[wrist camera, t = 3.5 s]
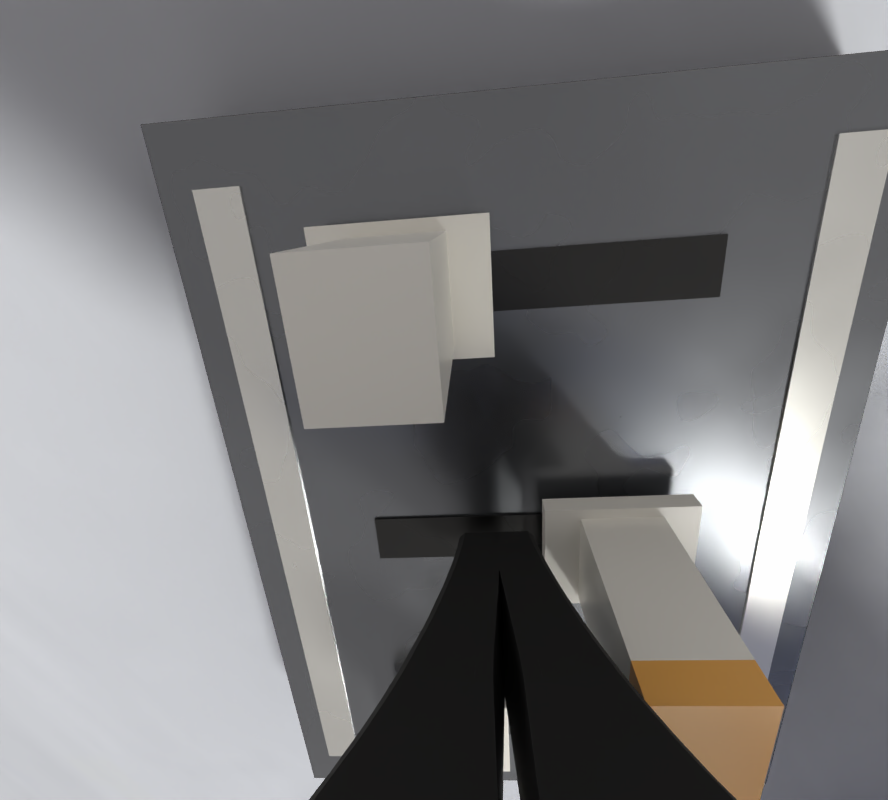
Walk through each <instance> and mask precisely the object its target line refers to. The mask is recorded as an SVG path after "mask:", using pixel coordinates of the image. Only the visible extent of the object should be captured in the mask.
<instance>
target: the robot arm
mask: <svg viewBox="0 0 888 800" xmlns="http://www.w3.org/2000/svg"><path fill="white" fill-rule="evenodd" d="M505 701H506V707H507V714H508V721H509V727H510V734H511V741H512V747H513V754H514V761H515V767H516V774H517V781H518V787H519V794H520V800H737V799H736V798H735V797H734V796H733V795H732V794H731V793H730V792H729V791H728V790H727V789H726V788H725V787H724V786H723V785H722V784H721V783H720V782H719V781H718V780H717V779H716V778H715V777H714V776H713V775H712V774H711V773H710V772H709V771H708V770H707V769H706V768H705V767H704V766H703V764H702V763H701V762H700V761H699V760H698V759H697V758H696V757H695V756H694V755H693V754H692V753H691V752H690V750H689V749H688V748H687V747H686V746H685V745H684V744H683V743H682V742H681V741H680V740H679V739H678V737H677V736H676V735H675V734H674V733H673V732H672V731H671V730H670V729H669V727H668V726H667V725H666V724H665V723H664V722H663V721H662V719H661V718H660V717H659V716H658V715H657V714H656V713H655V711H654V710H653V709H652V708H651V707H650V706H649V705H648V703H647V702H646V701H645V700H644V699H643V697H642V696H641V695H640V694H639V693H638V691H637V690H636V689H635V688H634V687H633V685H632V684H631V683H630V682H629V680H628V679H627V678H626V677H625V675H624V674H623V673H622V672H621V671H620V669H619V668H618V667H617V665H616V664H615V663H614V661H613V660H612V659H611V657H610V656H609V655H608V654H607V652H606V651H605V650H604V648H603V647H602V646H601V644H600V643H599V642H598V640H597V639H596V638H595V636H594V635H593V633H592V632H591V631H590V629H589V628H588V627H587V625H586V624H585V622H584V621H583V619H582V618H581V616H580V615H579V613H578V612H577V610H576V609H575V607H574V606H573V605H572V603H571V602H570V600H569V599H568V597H567V596H566V594H565V592H564V591H563V589H562V588H561V586H560V585H559V583H558V581H557V580H556V578H555V576H554V575H553V573H552V571H551V570H550V568H549V566H548V564H547V562H546V561H545V559H544V557H543V555H542V553H541V551H540V549H539V547H538V545H537V543H536V541H535V538H534V536H533V535H532V534H531V533H530V532H528V531H505V532H471V533H464V534H463V535H462V536H461V537H460V538H459V542H458V546H457V550H456V553H455V556H454V559H453V562H452V565H451V567H450V570H449V572H448V575H447V577H446V580H445V582H444V585H443V587H442V589H441V591H440V593H439V595H438V598H437V600H436V602H435V604H434V606H433V608H432V610H431V612H430V615H429V617H428V619H427V621H426V623H425V625H424V626H423V628H422V630H421V632H420V634H419V636H418V637H417V639H416V641H415V643H414V645H413V646H412V648H411V650H410V652H409V654H408V655H407V657H406V659H405V661H404V663H403V664H402V666H401V668H400V670H399V671H398V673H397V675H396V676H395V678H394V679H393V681H392V683H391V684H390V686H389V688H388V689H387V691H386V692H385V694H384V696H383V697H382V699H381V700H380V702H379V703H378V705H377V706H376V708H375V709H374V711H373V712H372V714H371V715H370V717H369V718H368V720H367V721H366V723H365V724H364V726H363V727H362V729H361V730H360V732H359V733H358V734H357V736H356V737H355V739H354V740H353V741H352V743H351V744H350V745H349V747H348V748H347V750H346V751H345V752H344V754H343V755H342V756H341V758H340V759H339V761H338V762H337V763H336V765H335V766H334V767H333V769H332V770H331V772H330V773H329V774H328V776H327V777H326V778H325V780H324V781H323V782H322V784H321V785H320V786H319V787H318V789H317V790H316V791H315V793H314V794H313V795H312V797H311V798H310V799H309V800H503V764H504V716H505Z"/></svg>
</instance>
